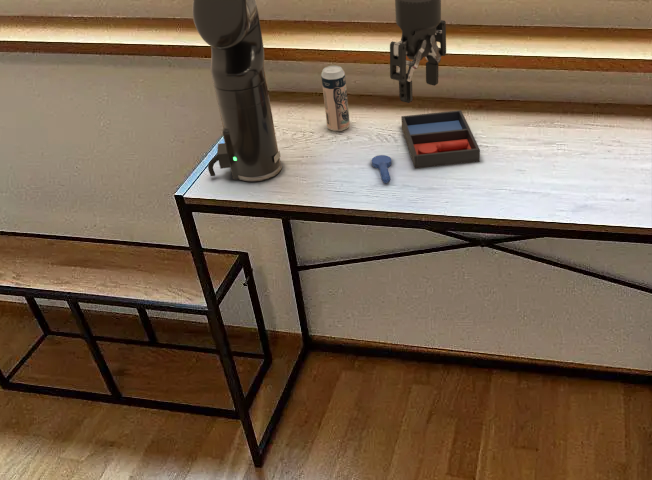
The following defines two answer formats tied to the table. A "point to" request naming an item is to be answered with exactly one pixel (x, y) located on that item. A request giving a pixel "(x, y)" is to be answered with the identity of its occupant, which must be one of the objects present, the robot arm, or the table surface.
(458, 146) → the red spoon
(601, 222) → the table surface
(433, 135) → the sorting tray
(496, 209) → the table surface
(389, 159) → the blue spoon
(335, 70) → the beer can
